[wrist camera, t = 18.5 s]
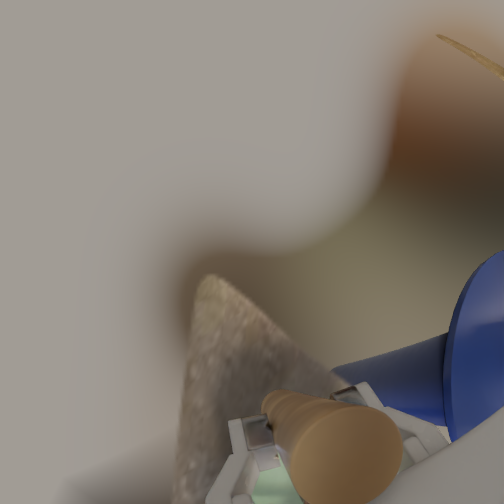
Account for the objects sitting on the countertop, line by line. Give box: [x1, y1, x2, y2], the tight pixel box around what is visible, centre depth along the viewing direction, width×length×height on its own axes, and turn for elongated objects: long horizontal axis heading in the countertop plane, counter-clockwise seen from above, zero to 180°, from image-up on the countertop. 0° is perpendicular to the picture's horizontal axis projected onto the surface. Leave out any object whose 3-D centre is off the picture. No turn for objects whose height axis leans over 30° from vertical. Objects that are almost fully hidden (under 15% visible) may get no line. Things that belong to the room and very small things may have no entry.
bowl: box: [251, 453, 303, 504], centre depth 23 cm, size 13×13×4 cm
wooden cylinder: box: [261, 389, 403, 504], centre depth 12 cm, size 3×3×14 cm
